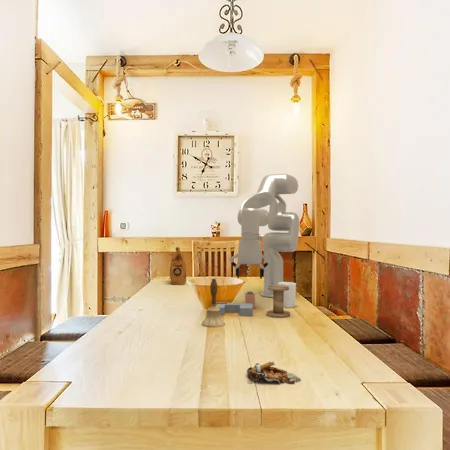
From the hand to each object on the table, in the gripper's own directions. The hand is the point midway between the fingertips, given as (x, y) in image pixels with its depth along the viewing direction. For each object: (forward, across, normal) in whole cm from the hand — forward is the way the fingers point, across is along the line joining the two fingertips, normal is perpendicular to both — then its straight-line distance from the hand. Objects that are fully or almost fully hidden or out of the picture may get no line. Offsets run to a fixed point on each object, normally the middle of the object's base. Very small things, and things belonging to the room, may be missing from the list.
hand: (249, 278), depth 162 cm
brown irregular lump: (+15, -5, +74) cm, 76 cm away
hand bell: (+14, +13, +27) cm, 33 cm away
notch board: (+13, +7, +9) cm, 17 cm away
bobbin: (+13, -11, +11) cm, 20 cm away
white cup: (+13, -16, -6) cm, 22 cm away
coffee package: (+12, +43, -68) cm, 81 cm away
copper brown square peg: (+13, 0, -1) cm, 13 cm away
